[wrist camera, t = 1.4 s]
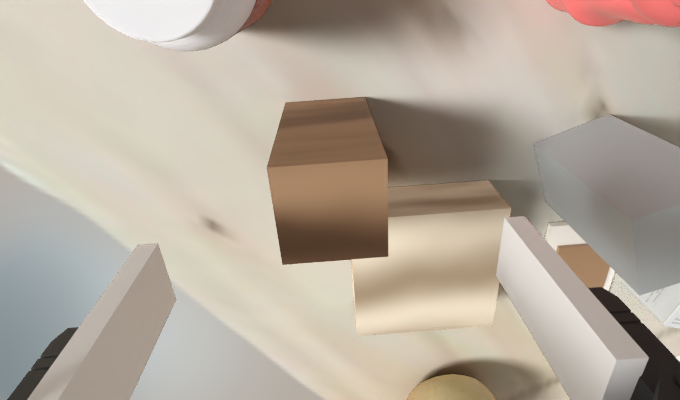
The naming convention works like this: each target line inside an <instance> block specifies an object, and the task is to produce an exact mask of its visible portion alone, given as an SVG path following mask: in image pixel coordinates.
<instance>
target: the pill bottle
mask: <svg viewBox="0 0 680 400" xmlns="http://www.w3.org/2000/svg"><path fill="white" fill-rule="evenodd" d="M84 1H85V3H86V4H87V5H88V6H89V7H90V8H91V10H92V11H93V12H94V13H95V14H96V15H97V16H98V17H99V18H101V19H102V20H103V21H104V22H105V23H107V24H108V25H109V26H111V27H112V28H114V29H116V30H117V31H119V32H121V33H123V34H125V35H127V36H129V37H132V38H135V39H138V40H141V41H147V42H151V43H153V44H155V45H157V46H160V47H163V48H166V49H171V50H176V51H199V50H204V49H208V48H211V47H213V46H216V45H218V44H221V43H222V42H224V41H226V40H228V39H230V38H231V37H232V36H234V35H235V34H237V33H238V32H240V31H241V30H243V29H245V28H246V27H248V26H249V25H251V24H253V23H254V22H256V21H257V20H258V19H259V18H260V17H261V16H262V15H263V14H264V13H265V11H266V10H267V8H268V7H269V5H270V4H271V2H272V0H84Z"/></svg>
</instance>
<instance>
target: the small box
mask: <svg viewBox="0 0 680 400" xmlns="http://www.w3.org/2000/svg"><path fill="white" fill-rule="evenodd" d="M620 282H621V283H622V284H623V285H624V286H625V287H626V288H627V289H628V290H629V291H630V292H631V293H632V294H633V295H634V296H635V297H636V298H637V299H638V300H639V301H640V302H641V303H642V304H643V305H644V306H645V307H646V308H647V309H648V311H649V312H650V313H651V314H652V315H653V316H654V317H655V318H656V319H657V320H658V321H659V322H660V323H661V324H662V325H663V326H667V327H673V328H679V329H680V283H678V284H675V285H671V286H668V287H665V288H662V289H659V290H656V291H653V292H650V293H646V294H643V295H640V296H639V295H638V294H637V293H636V292H635V291H634V290H633V289H632V288H631V287H630V286H629V285H628V284H627V283H626V282H625V281H624V280H623V279H622V278H621V279H620Z"/></svg>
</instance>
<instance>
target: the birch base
mask: <svg viewBox="0 0 680 400" xmlns="http://www.w3.org/2000/svg"><path fill="white" fill-rule="evenodd" d="M510 214H511V207H510V206H509V205H508V203H507V202H506V201H505V200H504V199H503V197H502V196H501V195H500V194H499V193H498V191H497V190H496V189H495V188H494V186H493V185H492V184H491V183H490V182H489V180H483V181H469V182H456V183H442V184H429V185H415V186H402V187H388V257H377V258H364V259H351V266H352V282H353V298H354V308H355V318H356V328H357V336H362V335H376V334H389V333H402V332H415V331H428V330H442V329H455V328H468V327H481V326H493V320H494V313H495V307H496V301H497V295H498V289H499V282H500V281H499V280H498V278H497V276H496V272H497V265H498V258H499V251H500V244H501V237H502V230H503V223H504V218H506V217H510Z"/></svg>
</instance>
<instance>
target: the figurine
mask: <svg viewBox="0 0 680 400" xmlns="http://www.w3.org/2000/svg"><path fill="white" fill-rule="evenodd" d="M546 1H547V2H548V3H549V4H550V5H551V6H552V7H553V8H555V9H557V10H560V11H565V12H568V13H569V14H570V15H571V16H572V17H573V18H574V19H575V20H577V21H578V22H580V23H582V24H585V25H589V26H608V25H612V24H615V23H618V22H620V21H622V20H628V21H632V22H636V23H640V24H650V25H652V24H657V25H660V26H666V27H680V0H546Z"/></svg>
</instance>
